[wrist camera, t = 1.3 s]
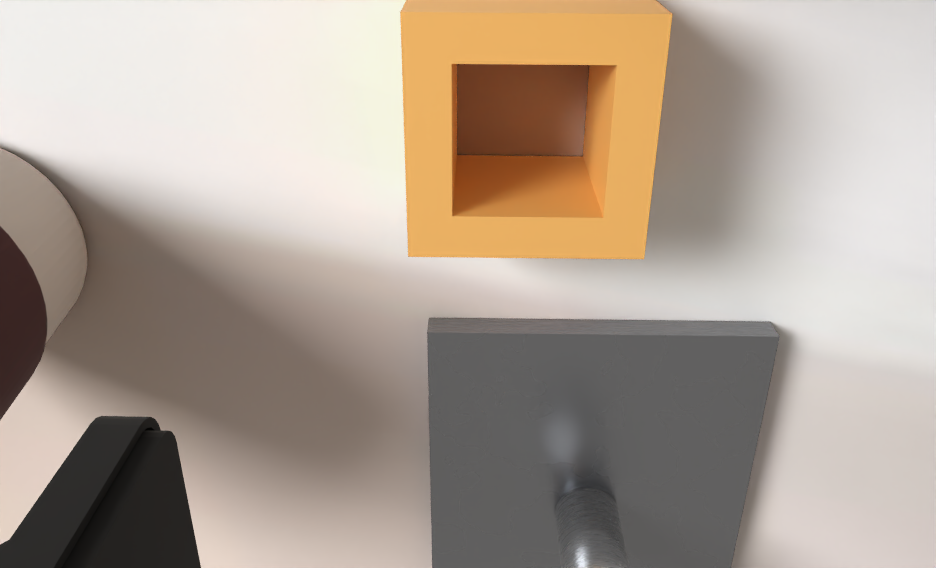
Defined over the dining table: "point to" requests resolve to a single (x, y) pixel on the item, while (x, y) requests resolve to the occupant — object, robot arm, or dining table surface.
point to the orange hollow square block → (534, 177)
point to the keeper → (592, 440)
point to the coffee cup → (33, 269)
